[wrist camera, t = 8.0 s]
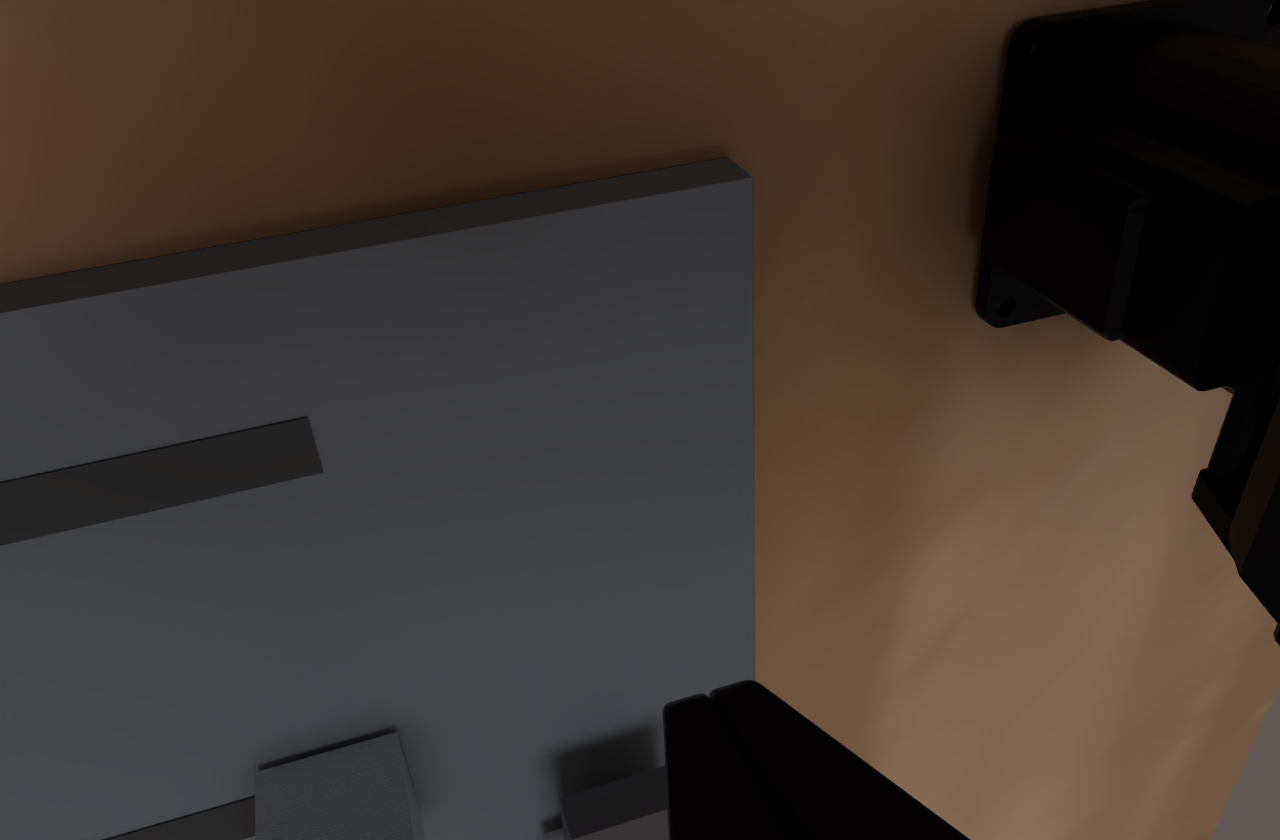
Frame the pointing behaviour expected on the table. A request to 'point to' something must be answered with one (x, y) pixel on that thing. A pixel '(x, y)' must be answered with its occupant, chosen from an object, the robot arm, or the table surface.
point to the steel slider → (340, 796)
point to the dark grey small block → (617, 810)
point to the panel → (378, 508)
